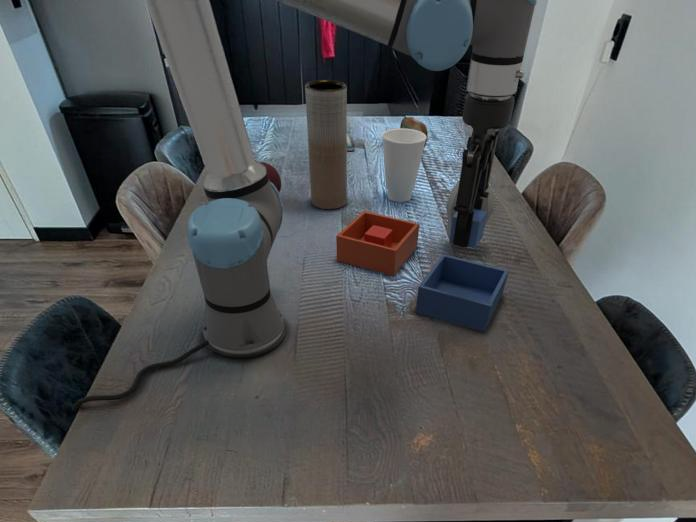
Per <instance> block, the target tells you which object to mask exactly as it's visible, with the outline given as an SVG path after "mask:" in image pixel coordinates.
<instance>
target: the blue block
mask: <svg viewBox="0 0 696 522" xmlns="http://www.w3.org/2000/svg"><path fill="white" fill-rule="evenodd" d="M473 211H474V216H473V221H472V227H471V232H470V238H469V243H468V247H467V248H470V249H476V248H477V246H478V245H479V243H480V242H481V240H482V238H483V236H484V232H483V231H485V228H484V226H485V227H486V225H485V221H486V216H487V211H483V210H478V209H473ZM457 215H458V212H456V214H455V215H454V216H453V219H452V226H451V233H450V239H449V241H448V243H449V244H452V245H453V240H454V233H455V227H456V221H457Z"/></svg>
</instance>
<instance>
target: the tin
mask: <svg viewBox="0 0 696 522" xmlns="http://www.w3.org/2000/svg"><path fill="white" fill-rule="evenodd" d="M399 128H403V129H413V130H417V131H420V132H422V133H424V134H425V135H426V137H427V138H426V141H425V145H424V149H425V147H426V146H427V141H428V133H429V132H428V128H427V125H426V124H425V123H424V122H423V121H420V120H419V119H417V118H415V117H413V116H404V117H403V118H402V119H401V123H400V126H399Z"/></svg>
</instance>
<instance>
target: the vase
mask: <svg viewBox="0 0 696 522" xmlns="http://www.w3.org/2000/svg"><path fill="white" fill-rule="evenodd" d="M304 92H305V94H304V95H305V110H306V129H307V131H306V132H307V148H308V149H307V150H308V165H309V185H310V186H309V187H310V200H311V201H310V202H311V204H312V205H313V206H314V207H315V208H318V209H321V210H337V209H341V208H343V207H345V206H346V205H347V200H348V199H347V198H348V188H347V187H348V182H347V181H348V178H347V177H348V173H347V172H348V162H347V161H348V155H347V154H348V151H347V134H348V133H347V132H348V127H347V126H348V120H347V119H348V117H347V116H348V113H347V112H348V108H347V107H348V98H347V97H348V93H347V92H348V87H347V84H346V83H345V82H342V81H339V80H335V79H334V80H333V79H332V80H331V79H317V80H312V81H309V82H307V83H305V85H304Z"/></svg>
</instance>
